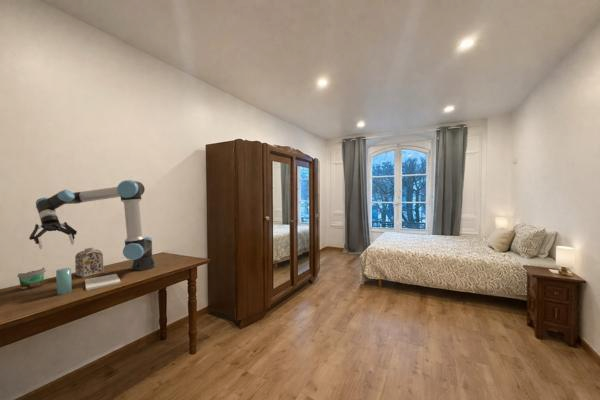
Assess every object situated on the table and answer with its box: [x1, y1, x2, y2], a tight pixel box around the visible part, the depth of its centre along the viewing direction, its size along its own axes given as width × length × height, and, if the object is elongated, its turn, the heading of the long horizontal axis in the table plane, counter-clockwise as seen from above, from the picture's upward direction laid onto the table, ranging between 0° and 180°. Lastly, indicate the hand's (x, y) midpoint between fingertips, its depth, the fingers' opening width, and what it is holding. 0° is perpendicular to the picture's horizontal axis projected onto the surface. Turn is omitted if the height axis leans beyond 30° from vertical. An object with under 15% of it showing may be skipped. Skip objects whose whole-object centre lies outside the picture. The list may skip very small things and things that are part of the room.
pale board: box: [84, 273, 122, 291], centre depth 151 cm, size 16×20×1 cm
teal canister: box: [55, 267, 73, 296], centre depth 136 cm, size 6×6×13 cm
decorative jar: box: [74, 247, 104, 278], centre depth 168 cm, size 12×12×18 cm
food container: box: [16, 267, 47, 291], centre depth 145 cm, size 12×6×10 cm, turn 168°
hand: (57, 245), depth 142 cm, fingers open, 13 cm apart
